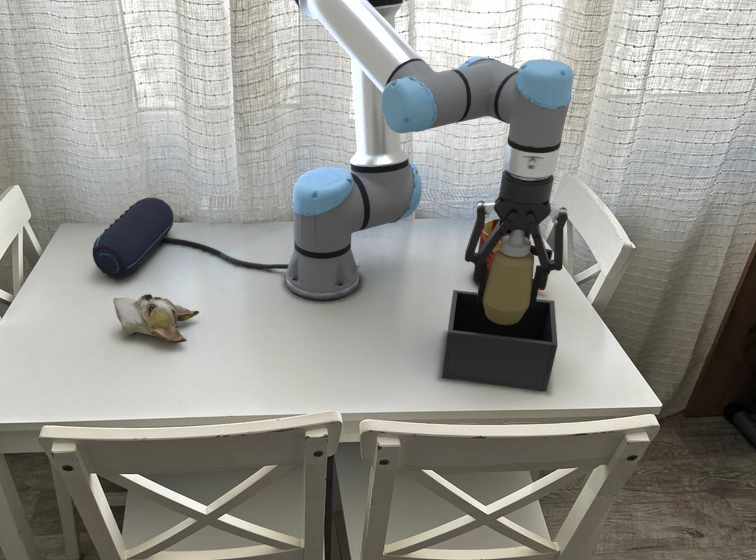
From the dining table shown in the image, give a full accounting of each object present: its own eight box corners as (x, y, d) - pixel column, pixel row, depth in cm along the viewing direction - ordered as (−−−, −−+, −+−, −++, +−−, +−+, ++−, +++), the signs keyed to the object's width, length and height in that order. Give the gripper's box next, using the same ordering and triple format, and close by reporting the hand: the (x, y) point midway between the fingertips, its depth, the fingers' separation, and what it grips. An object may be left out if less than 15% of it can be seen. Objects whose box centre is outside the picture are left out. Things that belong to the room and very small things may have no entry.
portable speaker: (142, 228, 172) (135, 189, 166) (180, 233, 170) (175, 194, 164) (89, 281, 153) (80, 239, 147) (132, 287, 151) (124, 245, 145)
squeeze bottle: (475, 303, 126) (489, 209, 116) (521, 303, 126) (540, 209, 115) (483, 329, 120) (498, 232, 109) (532, 329, 120) (552, 232, 109)
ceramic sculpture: (122, 275, 137) (198, 284, 136) (127, 313, 142) (200, 322, 141) (102, 306, 129) (183, 316, 128) (107, 345, 134) (186, 354, 133)
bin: (441, 377, 125) (447, 332, 119) (447, 333, 136) (453, 289, 130) (546, 391, 122) (557, 345, 116) (544, 345, 133) (554, 300, 127)
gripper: (456, 176, 107) (441, 305, 120) (603, 187, 103) (571, 319, 116) (459, 157, 113) (445, 282, 126) (599, 167, 109) (568, 295, 122)
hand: (505, 300), depth 121 cm, fingers closed on squeeze bottle, 8 cm apart
